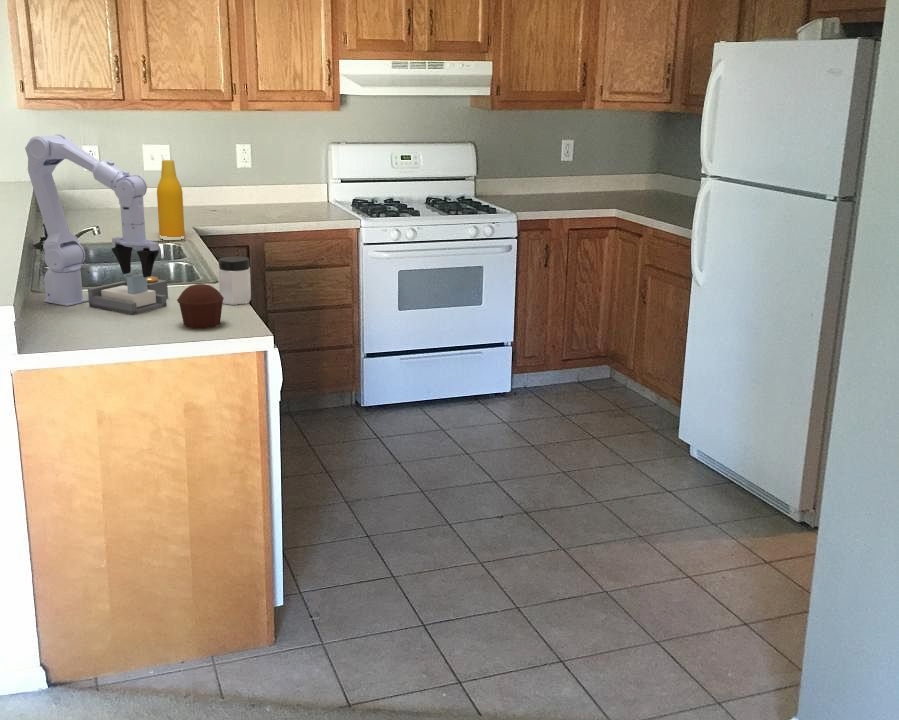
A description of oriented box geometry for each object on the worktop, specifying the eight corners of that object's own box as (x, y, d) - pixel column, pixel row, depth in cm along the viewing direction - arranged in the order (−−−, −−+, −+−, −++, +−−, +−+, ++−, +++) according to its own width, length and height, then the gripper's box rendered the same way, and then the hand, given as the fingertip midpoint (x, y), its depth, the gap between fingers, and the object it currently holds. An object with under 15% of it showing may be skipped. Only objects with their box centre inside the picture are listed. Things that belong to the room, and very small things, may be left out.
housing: (89, 307, 259) (87, 288, 258) (143, 294, 275) (142, 276, 274) (132, 315, 252) (131, 296, 250) (186, 301, 268) (185, 283, 266)
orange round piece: (138, 293, 268) (137, 278, 267) (150, 290, 272) (149, 275, 271) (150, 295, 266) (149, 280, 265) (161, 292, 270) (161, 277, 269)
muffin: (183, 318, 250) (181, 280, 247) (227, 318, 250) (226, 280, 248) (174, 330, 238) (172, 290, 235) (220, 330, 239) (218, 290, 236)
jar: (223, 297, 273) (221, 255, 270) (252, 298, 274) (251, 256, 270) (217, 305, 265) (215, 261, 261) (247, 305, 265) (246, 262, 262)
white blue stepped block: (102, 301, 259) (99, 273, 257) (124, 296, 266) (122, 269, 263) (134, 307, 254) (132, 279, 252) (156, 302, 260) (154, 274, 258)
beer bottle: (169, 236, 371) (165, 159, 362) (190, 238, 367) (186, 160, 359) (154, 239, 362) (149, 160, 354) (175, 241, 359) (170, 162, 351)
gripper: (101, 222, 252) (105, 274, 256) (141, 227, 245) (145, 280, 249) (122, 219, 258) (126, 270, 262) (162, 224, 251) (165, 276, 255)
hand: (136, 275), depth 256 cm, fingers open, 7 cm apart
